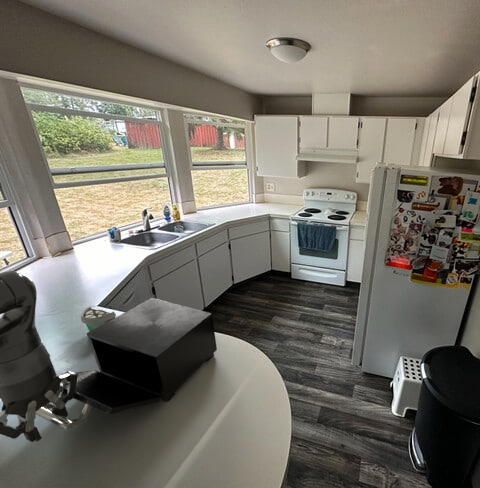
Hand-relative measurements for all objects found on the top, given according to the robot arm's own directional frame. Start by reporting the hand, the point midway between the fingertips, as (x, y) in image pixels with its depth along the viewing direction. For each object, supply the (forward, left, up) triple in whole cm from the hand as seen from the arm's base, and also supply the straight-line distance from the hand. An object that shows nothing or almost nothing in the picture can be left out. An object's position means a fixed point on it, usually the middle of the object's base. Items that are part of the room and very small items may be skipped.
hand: (49, 429), depth 55 cm
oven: (+9, +25, -8) cm, 28 cm away
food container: (-22, +39, -8) cm, 46 cm away
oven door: (+5, +13, -6) cm, 15 cm away
